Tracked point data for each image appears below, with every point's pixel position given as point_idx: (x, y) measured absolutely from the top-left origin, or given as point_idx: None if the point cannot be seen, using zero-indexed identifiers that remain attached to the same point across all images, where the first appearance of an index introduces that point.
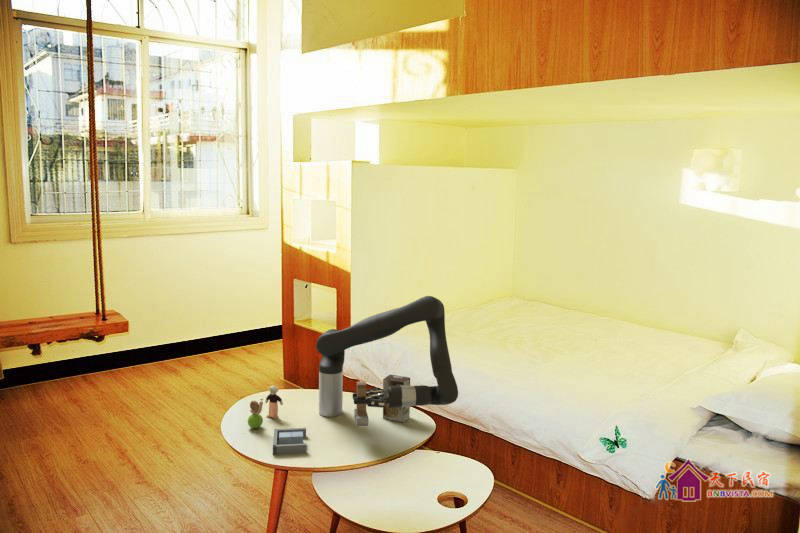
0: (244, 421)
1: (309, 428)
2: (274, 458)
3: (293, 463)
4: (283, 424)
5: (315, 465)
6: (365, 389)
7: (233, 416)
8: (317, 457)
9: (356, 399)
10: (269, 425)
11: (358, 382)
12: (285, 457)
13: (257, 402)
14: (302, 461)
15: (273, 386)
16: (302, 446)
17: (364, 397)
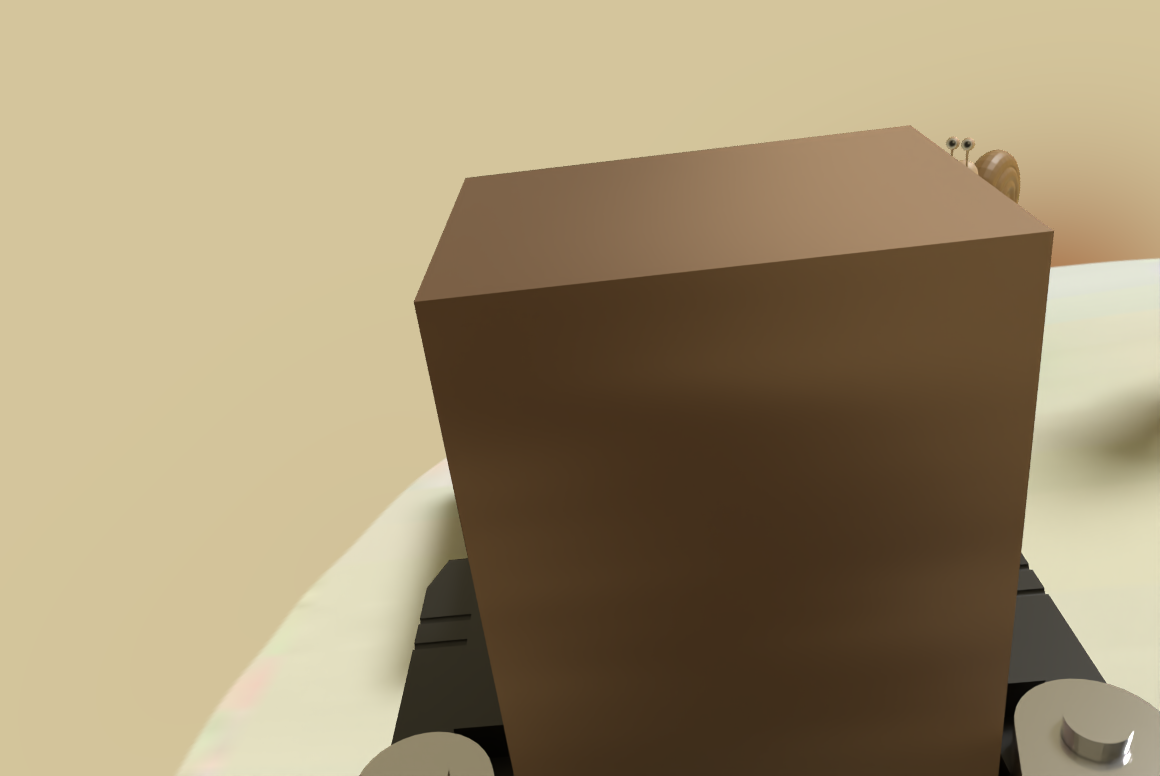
0: (1073, 308)
1: (1103, 629)
2: (447, 495)
3: (319, 593)
4: (1116, 460)
5: (201, 735)
6: (464, 490)
7: (1136, 267)
8: (362, 741)
9: (462, 570)
10: (1054, 401)
11: (793, 153)
12: (444, 542)
13: (988, 169)
14: (328, 641)
15: None
16: None
17: (473, 724)
